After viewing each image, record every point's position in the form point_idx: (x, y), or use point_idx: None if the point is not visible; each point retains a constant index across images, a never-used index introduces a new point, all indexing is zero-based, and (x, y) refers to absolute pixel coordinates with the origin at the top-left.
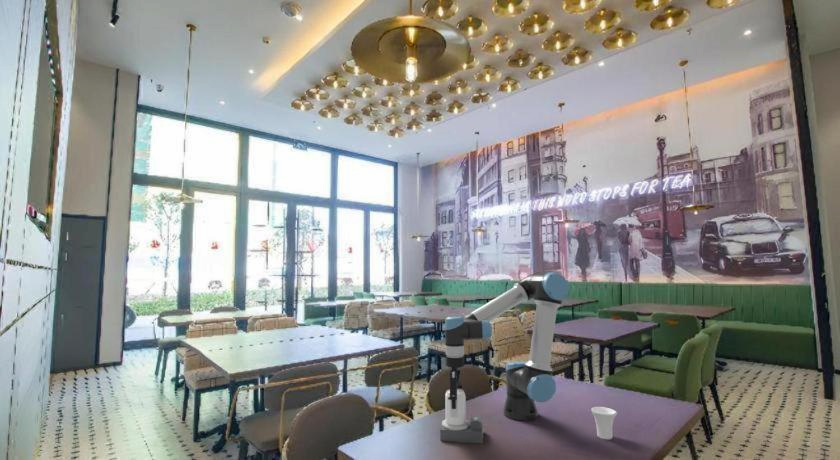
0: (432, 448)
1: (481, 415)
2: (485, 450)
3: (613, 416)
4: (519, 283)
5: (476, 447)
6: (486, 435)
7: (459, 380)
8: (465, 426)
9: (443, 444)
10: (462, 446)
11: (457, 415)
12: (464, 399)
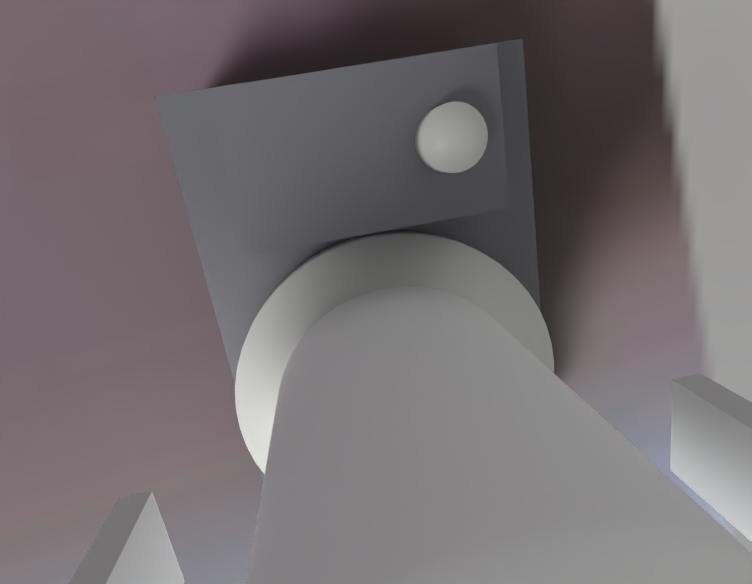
0: (653, 427)
1: (208, 89)
2: (617, 7)
3: None
4: None
5: (573, 106)
6: (270, 58)
7: None
8: (475, 265)
9: (574, 380)
10: (579, 231)
11: (724, 388)
12: (601, 471)
